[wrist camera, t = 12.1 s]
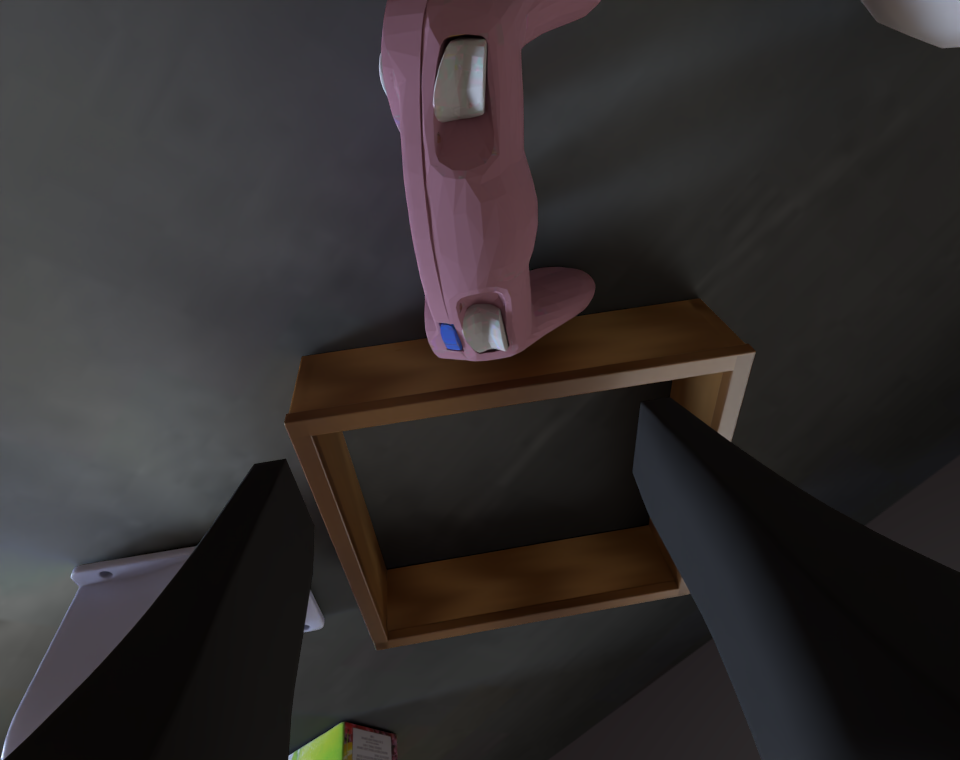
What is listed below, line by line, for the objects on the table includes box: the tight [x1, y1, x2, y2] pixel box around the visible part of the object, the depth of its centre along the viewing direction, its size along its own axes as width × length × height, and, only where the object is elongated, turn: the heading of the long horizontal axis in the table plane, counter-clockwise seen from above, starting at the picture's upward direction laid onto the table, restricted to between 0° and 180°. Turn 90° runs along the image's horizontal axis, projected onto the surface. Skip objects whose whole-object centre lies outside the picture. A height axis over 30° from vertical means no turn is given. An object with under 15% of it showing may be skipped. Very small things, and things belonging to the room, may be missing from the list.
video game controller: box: [379, 0, 601, 361], centre depth 14 cm, size 10×5×7 cm, turn 5°
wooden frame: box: [284, 298, 756, 650], centre depth 23 cm, size 15×14×4 cm
